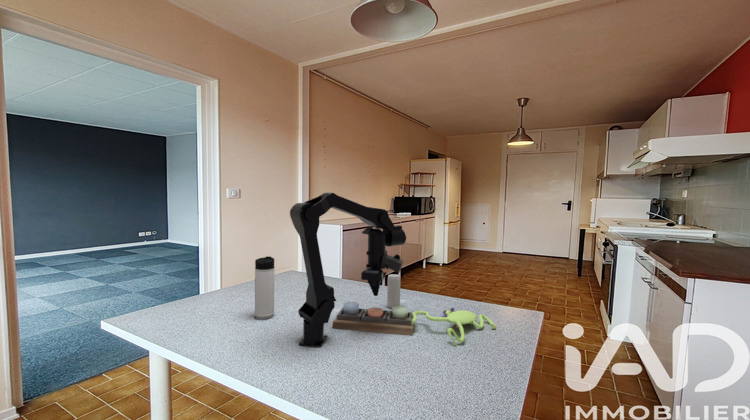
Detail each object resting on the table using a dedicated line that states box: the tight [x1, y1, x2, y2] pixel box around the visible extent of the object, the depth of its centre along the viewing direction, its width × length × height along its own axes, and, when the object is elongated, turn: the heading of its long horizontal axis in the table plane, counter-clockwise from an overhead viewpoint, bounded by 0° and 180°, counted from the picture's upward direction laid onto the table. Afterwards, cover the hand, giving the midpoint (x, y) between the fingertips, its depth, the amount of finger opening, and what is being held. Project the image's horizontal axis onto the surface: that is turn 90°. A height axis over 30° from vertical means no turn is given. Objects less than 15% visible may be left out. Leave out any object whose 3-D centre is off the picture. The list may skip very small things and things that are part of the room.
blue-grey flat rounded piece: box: [343, 301, 360, 315], centre depth 107 cm, size 5×5×2 cm
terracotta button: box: [367, 307, 383, 318], centre depth 106 cm, size 5×5×2 cm
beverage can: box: [386, 273, 401, 310], centre depth 123 cm, size 5×5×12 cm
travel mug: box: [254, 256, 275, 321], centre depth 111 cm, size 6×7×20 cm
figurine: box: [411, 307, 497, 348], centre depth 104 cm, size 18×27×6 cm
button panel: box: [332, 306, 415, 336], centre depth 106 cm, size 12×25×4 cm, turn 80°
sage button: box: [391, 304, 409, 319], centre depth 104 cm, size 5×5×2 cm
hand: (375, 295), depth 105 cm, fingers closed
